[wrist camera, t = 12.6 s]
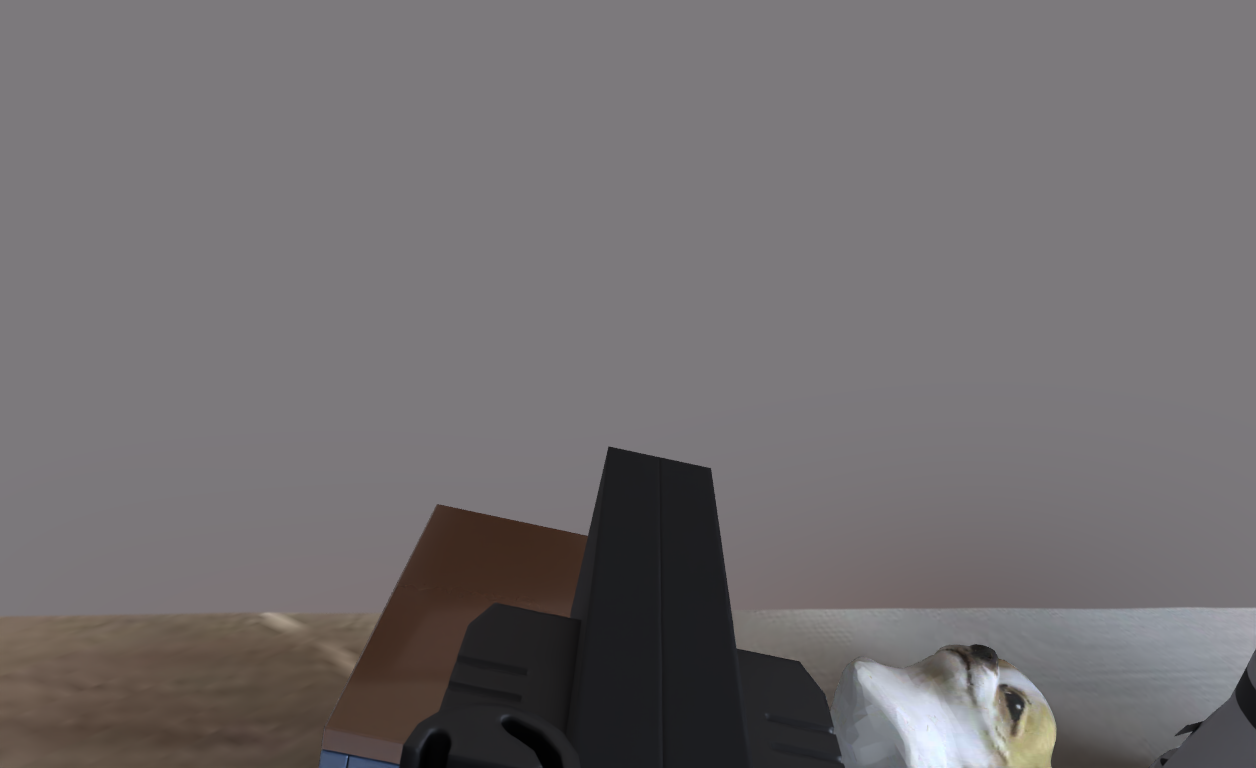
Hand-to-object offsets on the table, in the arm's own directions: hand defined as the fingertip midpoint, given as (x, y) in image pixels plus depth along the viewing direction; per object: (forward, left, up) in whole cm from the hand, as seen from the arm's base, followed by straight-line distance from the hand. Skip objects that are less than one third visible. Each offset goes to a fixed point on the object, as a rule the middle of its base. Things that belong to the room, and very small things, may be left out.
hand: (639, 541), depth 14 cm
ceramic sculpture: (-21, -27, -24) cm, 42 cm away
